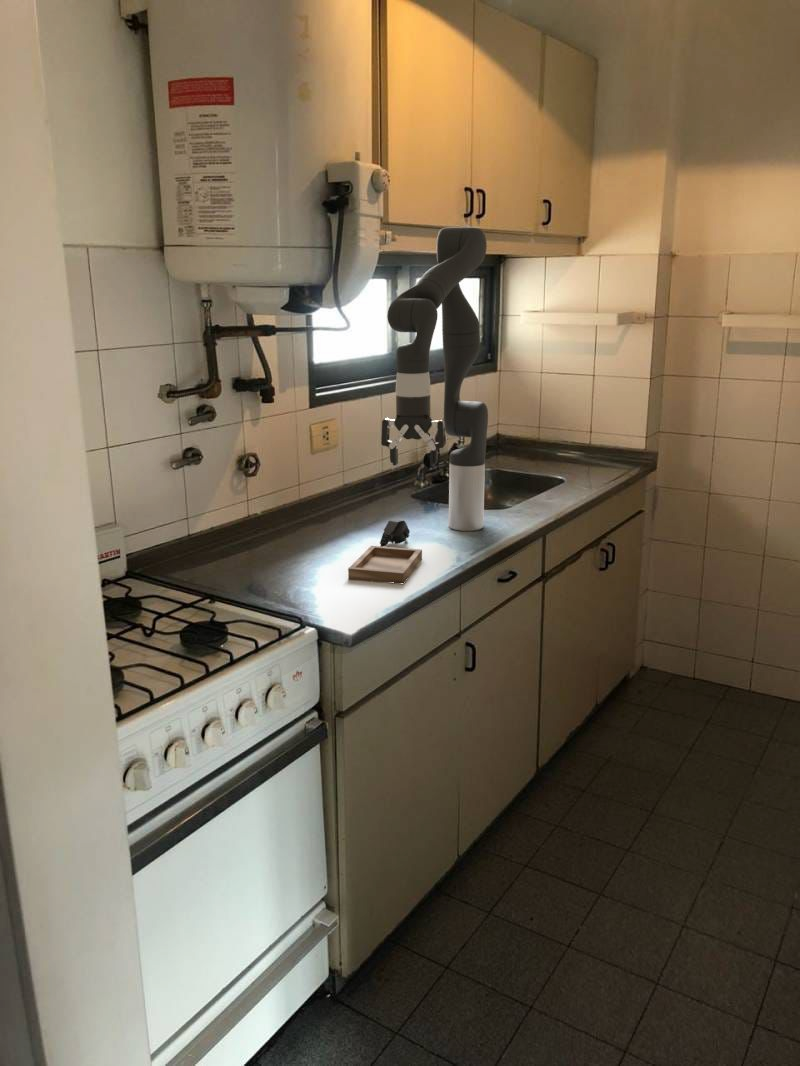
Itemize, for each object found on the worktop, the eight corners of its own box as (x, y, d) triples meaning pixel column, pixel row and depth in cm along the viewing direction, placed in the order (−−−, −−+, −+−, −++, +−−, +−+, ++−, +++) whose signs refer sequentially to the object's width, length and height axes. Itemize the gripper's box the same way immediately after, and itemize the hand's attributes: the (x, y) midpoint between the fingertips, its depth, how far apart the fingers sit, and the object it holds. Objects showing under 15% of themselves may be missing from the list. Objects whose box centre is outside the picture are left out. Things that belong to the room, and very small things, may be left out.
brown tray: (371, 555, 202) (371, 545, 201) (422, 559, 199) (422, 549, 198) (348, 579, 186) (348, 568, 185) (403, 584, 183) (403, 573, 182)
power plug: (366, 549, 204) (388, 512, 211) (376, 568, 210) (397, 531, 216) (386, 552, 202) (407, 515, 208) (396, 572, 207) (416, 534, 213)
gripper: (448, 391, 187) (448, 463, 192) (385, 389, 191) (387, 460, 196) (441, 396, 180) (441, 470, 185) (377, 394, 184) (378, 467, 189)
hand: (413, 465), depth 190 cm, fingers open, 8 cm apart
